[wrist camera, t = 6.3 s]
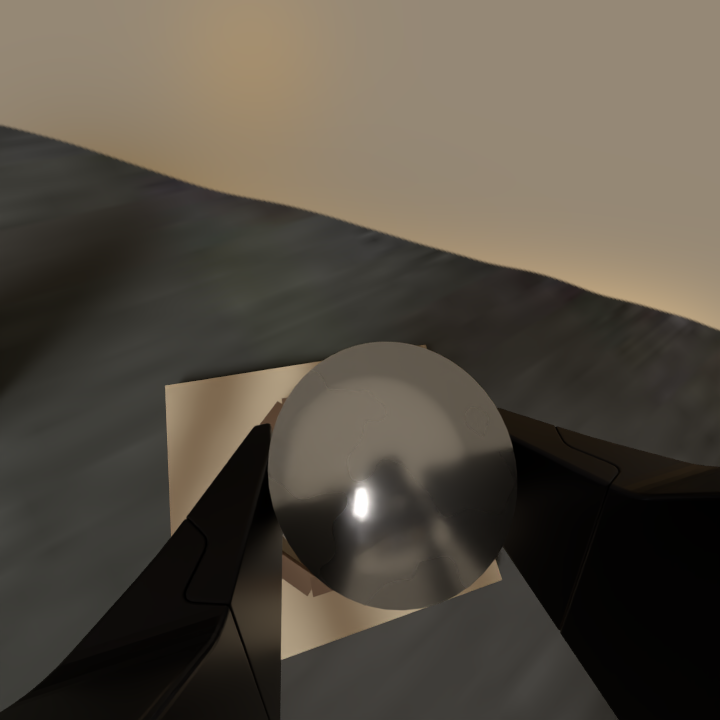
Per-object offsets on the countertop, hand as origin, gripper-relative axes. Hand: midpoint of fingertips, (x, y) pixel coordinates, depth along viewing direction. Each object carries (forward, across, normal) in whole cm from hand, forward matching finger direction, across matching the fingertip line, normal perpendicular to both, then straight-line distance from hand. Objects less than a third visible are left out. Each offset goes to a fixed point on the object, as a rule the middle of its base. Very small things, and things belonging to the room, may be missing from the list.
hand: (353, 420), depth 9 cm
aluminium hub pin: (+4, 0, +6) cm, 7 cm away
